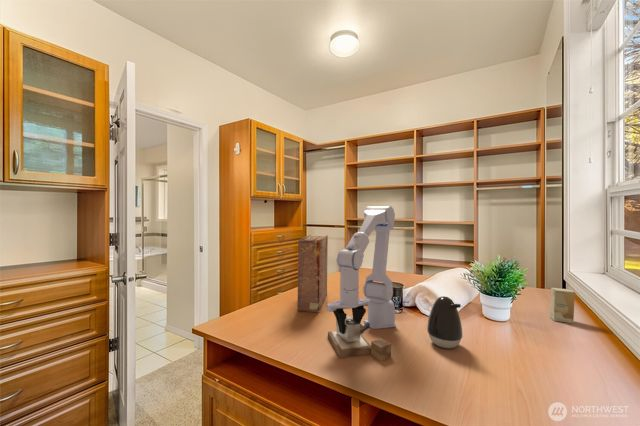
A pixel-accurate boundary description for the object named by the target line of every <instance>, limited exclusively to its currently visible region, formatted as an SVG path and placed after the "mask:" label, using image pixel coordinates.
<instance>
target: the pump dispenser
mask: <svg viewBox="0 0 640 426" xmlns="http://www.w3.org/2000/svg"><path fill="white" fill-rule="evenodd" d="M458 308H462V306H461V303H455V302H454V301H453V299H452V298H450V297H448V296H446V295H445V296H440V297H438V298H437V299H435V301H434V303H433V305H432V307H431V310H430V313H429V317H428V320H427V326H426V328H427V330H426V331H427V333H428V337H429V339H430V340H431V342H432V343H433V344H434V345H436V346H438V347H440V348H443V349H453V348H456V347H457V346H458V345H459V344H460V343H461V340H462V339H463V337H464V336H463V327H462V326H463V325H462V320H461V317H460V314H459V311H458Z"/></svg>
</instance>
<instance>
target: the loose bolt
mask: <svg viewBox="0 0 640 426" xmlns="http://www.w3.org/2000/svg"><path fill="white" fill-rule="evenodd" d="M369 327H370V326H369V323H368V322H364V323H360V333H361V332H362V331H364V330H365V329H367V328H369Z"/></svg>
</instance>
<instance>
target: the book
mask: <svg viewBox="0 0 640 426" xmlns="http://www.w3.org/2000/svg"><path fill="white" fill-rule="evenodd" d="M328 237H329V236H328V235H325V236H324V235H323V236H320V235H319V236H318V235H311V234H308V235H306V236H304V237H302V238H299V239H298V241H297V242H298V247H297V252H298V253H297V255H298V256H297V312H306V313H320V312H321V310H322V307H323V305H324V302H325V300H326V297H327V296H328V245H329V243H328V242H329V241H328V240H329V239H328Z"/></svg>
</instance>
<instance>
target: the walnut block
mask: <svg viewBox="0 0 640 426" xmlns="http://www.w3.org/2000/svg"><path fill="white" fill-rule="evenodd" d="M370 345H371V354H370V355H371V356H372V357H374V358H375V359H377V360H378V361H380V362H382V361H385V360H387V359H389V358H391V357H392V343H391V342H388V341H387V340H385V339H383V338H377V339H375V340H372V341H371V342H370Z"/></svg>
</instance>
